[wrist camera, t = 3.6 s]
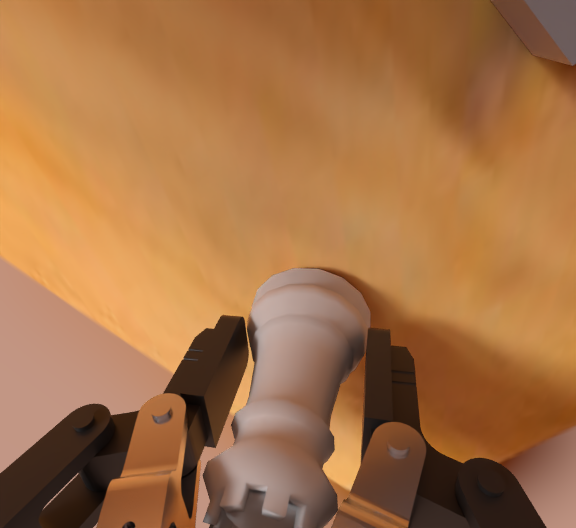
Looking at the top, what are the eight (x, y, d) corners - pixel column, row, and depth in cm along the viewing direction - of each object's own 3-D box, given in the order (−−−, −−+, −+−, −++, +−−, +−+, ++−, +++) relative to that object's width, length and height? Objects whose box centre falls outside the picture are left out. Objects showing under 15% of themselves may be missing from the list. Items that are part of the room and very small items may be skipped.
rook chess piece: (237, 319, 16) (137, 529, 10) (289, 238, 14) (203, 443, 7) (330, 370, 17) (297, 604, 10) (397, 301, 14) (409, 547, 8)
